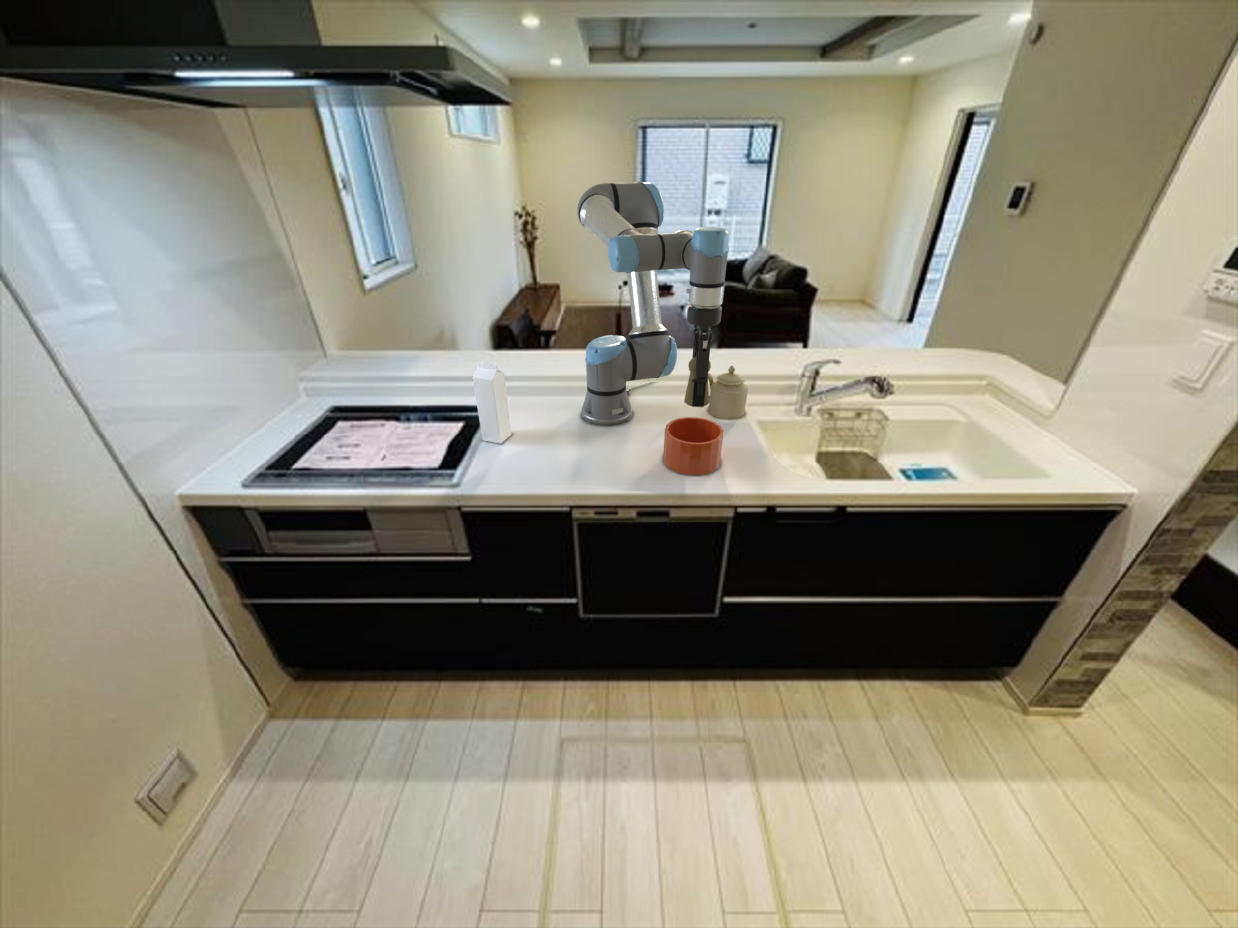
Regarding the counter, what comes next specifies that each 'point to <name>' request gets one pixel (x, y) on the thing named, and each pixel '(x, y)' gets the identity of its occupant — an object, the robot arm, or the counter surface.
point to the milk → (492, 403)
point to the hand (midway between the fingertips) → (696, 400)
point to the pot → (692, 445)
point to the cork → (690, 385)
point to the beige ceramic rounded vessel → (727, 395)
